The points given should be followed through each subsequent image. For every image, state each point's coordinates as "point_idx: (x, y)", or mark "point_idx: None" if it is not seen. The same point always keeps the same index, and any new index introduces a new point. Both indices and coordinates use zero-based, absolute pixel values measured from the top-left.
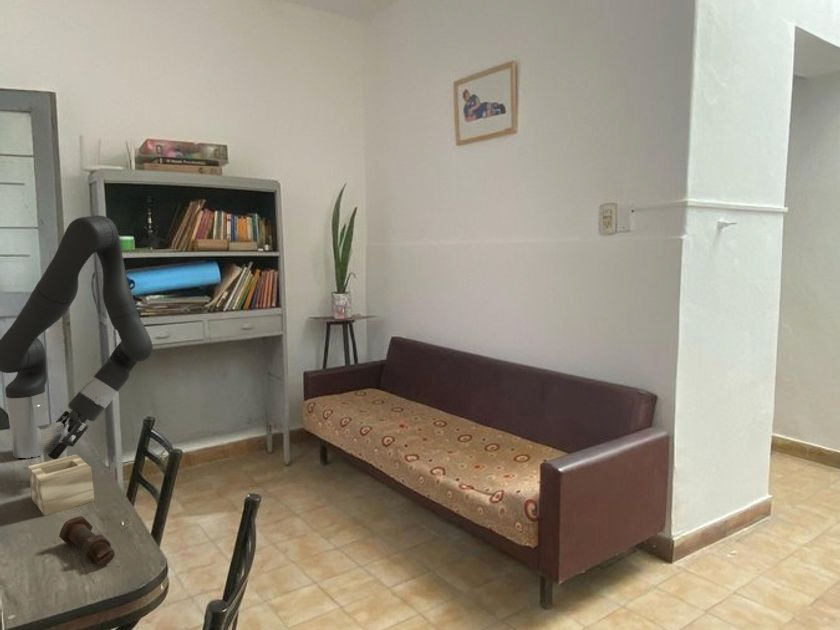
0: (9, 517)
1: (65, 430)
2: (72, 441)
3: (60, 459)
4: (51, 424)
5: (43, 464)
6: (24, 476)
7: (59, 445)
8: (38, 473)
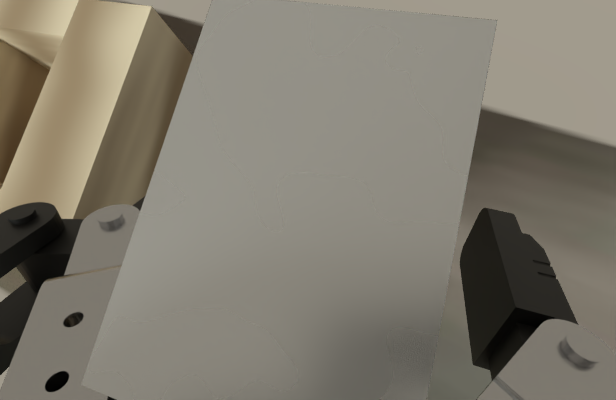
0: (167, 18)
1: (40, 306)
2: (29, 283)
3: (73, 155)
4: (343, 255)
5: (97, 65)
6: (526, 187)
7: None
8: (12, 5)
